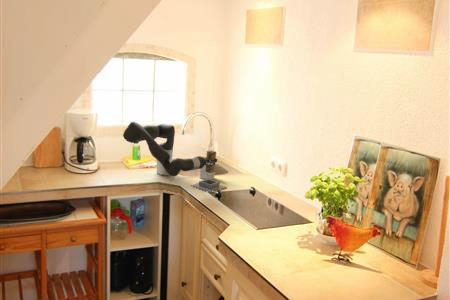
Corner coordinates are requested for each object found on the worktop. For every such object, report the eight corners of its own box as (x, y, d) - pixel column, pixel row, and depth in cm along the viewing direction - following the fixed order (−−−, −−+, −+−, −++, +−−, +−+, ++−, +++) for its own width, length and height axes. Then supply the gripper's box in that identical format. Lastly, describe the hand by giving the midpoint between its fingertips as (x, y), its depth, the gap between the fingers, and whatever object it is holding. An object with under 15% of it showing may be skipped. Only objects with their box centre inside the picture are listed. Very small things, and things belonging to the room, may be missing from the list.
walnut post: (205, 171, 291) (206, 151, 288) (209, 170, 294) (211, 150, 291) (210, 173, 288) (211, 152, 286) (214, 172, 292) (216, 151, 289)
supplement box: (214, 178, 314) (216, 159, 311) (208, 180, 308) (210, 161, 305) (205, 175, 318) (206, 157, 315) (199, 178, 311) (200, 159, 309)
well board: (190, 186, 292) (191, 181, 292) (207, 181, 305) (208, 176, 304) (210, 192, 283) (210, 187, 282) (226, 188, 295) (227, 182, 294)
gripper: (186, 166, 284) (205, 162, 297) (203, 172, 275) (222, 167, 288) (186, 154, 282) (205, 151, 295) (204, 159, 274) (223, 155, 287)
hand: (213, 159), depth 292 cm, fingers closed on walnut post, 4 cm apart
